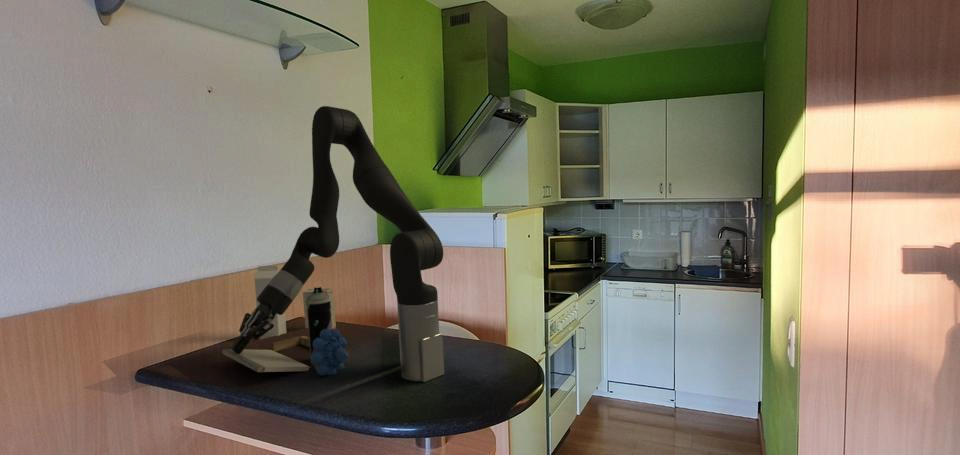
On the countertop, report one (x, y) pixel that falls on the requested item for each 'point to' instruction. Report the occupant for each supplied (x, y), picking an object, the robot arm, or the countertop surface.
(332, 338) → the grapes
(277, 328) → the milk
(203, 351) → the countertop surface
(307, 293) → the supplement box
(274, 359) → the cream thin rectangular board
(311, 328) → the spray can
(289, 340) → the wooden u-shaped bracket
